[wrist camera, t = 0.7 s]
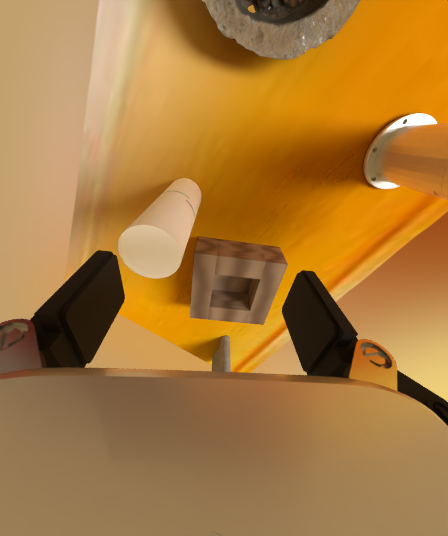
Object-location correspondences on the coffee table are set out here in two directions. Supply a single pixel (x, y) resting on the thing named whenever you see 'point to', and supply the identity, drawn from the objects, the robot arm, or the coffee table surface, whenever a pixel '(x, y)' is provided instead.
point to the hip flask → (222, 356)
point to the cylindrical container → (161, 231)
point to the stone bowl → (280, 23)
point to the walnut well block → (235, 280)
